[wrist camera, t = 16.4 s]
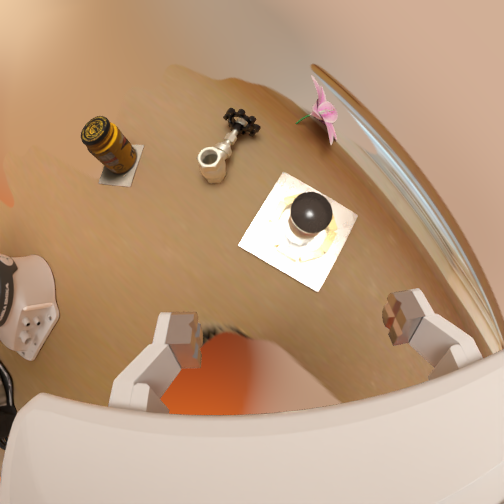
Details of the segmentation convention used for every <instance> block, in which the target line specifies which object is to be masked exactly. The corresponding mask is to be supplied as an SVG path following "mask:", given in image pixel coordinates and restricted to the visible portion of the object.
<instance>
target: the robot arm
mask: <svg viewBox="0 0 504 504" xmlns="http://www.w3.org/2000/svg"><path fill="white" fill-rule="evenodd" d="M387 301H388V303H387V304H386V305H385V306H384V308H383V311H382V318H383V323H384V325H385V327H387V328H388V329H389V334H388V335H389V337H390V339H391V342H392V344H393V346H395V345H400V344H405V343H409V344H410V345H411V346H412V347H413V348H414V349H415V350H416V351H417V352H418V353H419V354H420V355H421V356H422V357H423V358H425V359H426V360H427V361H428V362H429V363H430V364H431V365H432V366H433V367H434V369H433V370H432V371H431V372H430V374H429V375H428V379H429V381H426V382H423V383H420V384H417V385H413V386H410V387H407V388H404V389H400V390H397V391H393V392H389V393H386V394H382V395H378V396H374V397H370V398H365V399H361V400H356V401H351V402H346V403H341V404H336V405H330V406H325V407H318V408H311V409H304V410H296V411H287V412H277V413H265V414H248V415H181V414H169V409H168V408H167V407H166V406H165V404H164V403H163V402H162V401H161V400H160V398H161V397H162V395H163V394H164V393H165V391H166V390H167V389H168V387H169V386H170V384H171V383H172V382H173V380H174V379H175V377H176V376H177V375H178V373H179V372H180V371H181V368H201V357H202V354H201V351H200V348H201V347H202V345H203V332H202V327H201V324H200V323H198V315H197V312H161V313H160V314H159V316H158V321H157V325H156V329H155V334H154V338H153V343H152V344H149V345H148V346H147V347H146V348H145V349H144V350H143V351H142V352H141V353H140V354H139V355H138V356H137V357H136V358H135V359H134V360H133V361H132V362H131V363H130V364H129V365H128V366H127V367H126V368H125V369H124V370H123V371H122V372H121V373H120V374H119V375H118V377H117V378H116V379H115V380H114V383H113V387H112V391H111V396H110V400H109V405H108V407H107V406H101V405H95V404H90V403H85V402H80V401H76V400H71V399H67V398H63V397H59V396H56V395H52V394H48V393H39V394H38V395H36V396H35V397H33V398H32V399H31V400H30V401H29V402H28V403H26V404H25V405H24V406H23V407H22V408H21V409H20V410H19V412H18V413H17V415H16V417H15V419H14V421H13V424H12V427H11V430H10V434H9V437H8V441H7V445H6V450H5V455H4V460H3V465H2V473H1V482H0V504H504V349H502V350H500V351H498V352H496V353H494V354H492V355H490V356H488V357H486V358H484V359H483V357H482V355H481V353H480V351H479V349H478V347H477V346H476V344H475V342H474V340H473V338H472V337H470V336H469V335H468V334H466V333H465V332H463V331H462V330H460V329H459V328H457V327H456V326H455V325H453V324H452V323H450V322H449V321H447V320H446V319H444V318H443V317H441V316H440V315H438V314H435V313H434V312H433V310H432V308H431V306H430V305H429V303H428V301H427V299H426V298H425V296H424V294H423V293H422V291H421V290H420V289H419V288H418V289H412V290H405V291H399V292H393V293H390V294H389V295H388V297H387ZM51 317H52V319H51ZM58 319H59V310H58V307H57V304H56V300H55V284H54V279H53V275H52V272H51V269H50V267H49V265H48V264H47V262H46V261H45V260H44V259H43V258H42V257H40V256H38V255H29V256H25V257H9V256H6V255H4V254H0V341H1V342H2V343H3V344H4V345H5V346H6V347H7V348H9V349H11V350H13V351H16V352H17V353H18V354H19V355H21V356H22V357H23V358H25V359H27V360H30V361H32V360H34V359H35V357H36V356H37V354H38V352H39V350H40V349H41V347H42V345H43V344H44V342H45V340H46V338H47V337H48V335H49V334H50V332H51V330H52V329H53V327H54V325H55V324H56V322H57V321H58Z"/></svg>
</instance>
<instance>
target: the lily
mask: <svg viewBox="0 0 504 504" xmlns="http://www.w3.org/2000/svg"><path fill="white" fill-rule="evenodd" d="M312 79H313V82H314V84H315V87H316V90H317V94H318V99H317V101H316V102H315V104H314V105H313V107H312V109H313V111H312V113H311V114H309V115H307V116H305V117H303V118H302V119H300V120H299V121H298V122H296V124H298V123H299V122H300V121H302V120H303V119H305V118H306V117H308V116H311V115H312V116H314V117H315V118H317V119H318V120H319V121H321V122H322V123H323V124H324V125H326V126H327V130H328V134H329V140H330V144H331V145H332V143H333V136H334V137H335V139H336V141H337V138H336V133H335V129H334V126H333V122H336V120H337V118H338V113H337V110H336V109H335V107H334V106H333V104H331V103H330V102H327V101H326V96H325V93H324V90H323V88H322V86H321V88H320V86H319V84H318V82H317V81H316V80H315V79H314V77H313V76H312Z"/></svg>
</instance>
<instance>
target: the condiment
mask: <svg viewBox="0 0 504 504" xmlns="http://www.w3.org/2000/svg"><path fill="white" fill-rule="evenodd" d="M81 139H82V142H83V143H84V144H85V145H86V146H87V148H88V150H89V152H90V153H91V154H92V155H93V156H95V157H96V158H97V159H98V160H99V161H100V162H101V163H102V164H104V165H105V166H104V169H103V172H102V175H101V177H100V180H99V184H107V185H116V186H128V187H131V183H132V180H133V176H134V174H135V170H136V168H137V165H138V162H139V159H140V156H141V153H142V150H143V147H144V145H131V144H130V142H129V141H128V140H127V139H126V138H125V136H124V135H123V134H122V133H121V131H120V130H119V129H118V127H117V126H116V125H115V124H113V123H111V122H109V120H108V119H107V118H105V117H103V116H97V117H95V118H93V119H91V120H90V121H89V122H88V123H87V124H86V125H85V127H84V128H83V130H82V132H81ZM125 174H126V175H125ZM124 175H125V176H124ZM123 176H124V177H123Z"/></svg>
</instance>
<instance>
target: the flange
mask: <svg viewBox="0 0 504 504" xmlns="http://www.w3.org/2000/svg"><path fill="white" fill-rule="evenodd" d="M305 192H316V193H319V194H321V195H323V196H324V197H325V198H326V199H327V200H328V201H329V203H330V205H331V207H332V212H333V215H332V220H331V222H330V224H329V225H328V227H327V228H326V229H324V230H323V231H321V232H320V233H319V234H318V235H317V236H316V237H315V238H314V239H313V240H312V241H311V242H310V243H308V244H306V245H297V244H294V243H292V242H291V241H290V240H289V239H288V237H287V236H286V232H285V226H286V223H287V220H288V218H289V215H290V209H291V205H292V203H293V201H294V199H295V198H296V197H297V196H298V195H300V194H302V193H305ZM357 217H358V215H356V214H355V213H353V212H352V211H350V210H349V209H347V208H345V207H344V206H342V205H340V204H339V203H337V202H335V201H334V200H332V199H330V198H329V197H327V196H325V195H324V194H322V193H320V192H319V191H317V190H315V189H313V188H312V187H310V186H308V185H307V184H305V183H303V182H301V181H299V180H298V179H296V178H294V177H292V176H290V175H289V174H287V173H285V172H283V173H282V175H281V177H280V178H279V180H278V181H277V183H276V185H275V186H274V188H273V189H272V191H271V193H270V194H269V196H268V198H267V199H266V201H265V202H264V204H263V206H262V207H261V209H260V211H259V212H258V214H257V215H256V217H255V219H254V220H253V222H252V224H251V225H250V227H249V228H248V230H247V232H246V233H245V235H244V237H243V238H242V240H241V242H240V243H239V245H238V246H239V247H241V248H243V249H244V250H246V251H248V252H249V253H251V254H253V255H255V256H256V257H258V258H260V259H261V260H263V261H265V262H266V263H268V264H270V265H272V266H273V267H275V268H277V269H278V270H280V271H282V272H284V273H285V274H287V275H289V276H290V277H292V278H294V279H295V280H297V281H299V282H301V283H302V284H304V285H306V286H307V287H309V288H311V289H313V290H314V291H316V292H319V290H320V288H321V286H322V284H323V283H324V281H325V279H326V277H327V275H328V273H329V272H330V270H331V268H332V266H333V264H334V262H335V260H336V258H337V256H338V255H339V253H340V251H341V249H342V247H343V245H344V243H345V241H346V239H347V237H348V235H349V233H350V231H351V229H352V227H353V225H354V223H355V221H356V219H357Z"/></svg>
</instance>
